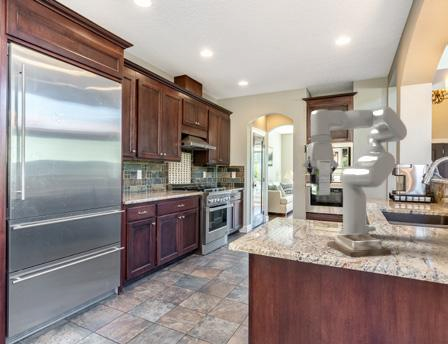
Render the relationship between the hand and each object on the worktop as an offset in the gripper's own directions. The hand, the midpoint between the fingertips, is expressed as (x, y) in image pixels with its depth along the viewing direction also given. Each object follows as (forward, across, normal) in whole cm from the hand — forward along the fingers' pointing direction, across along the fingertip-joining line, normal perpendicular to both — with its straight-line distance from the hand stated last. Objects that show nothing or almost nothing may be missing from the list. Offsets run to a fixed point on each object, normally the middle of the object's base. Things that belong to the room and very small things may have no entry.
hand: (320, 183), depth 109 cm
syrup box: (+5, 0, 0) cm, 5 cm away
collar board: (+24, -8, +12) cm, 28 cm away
